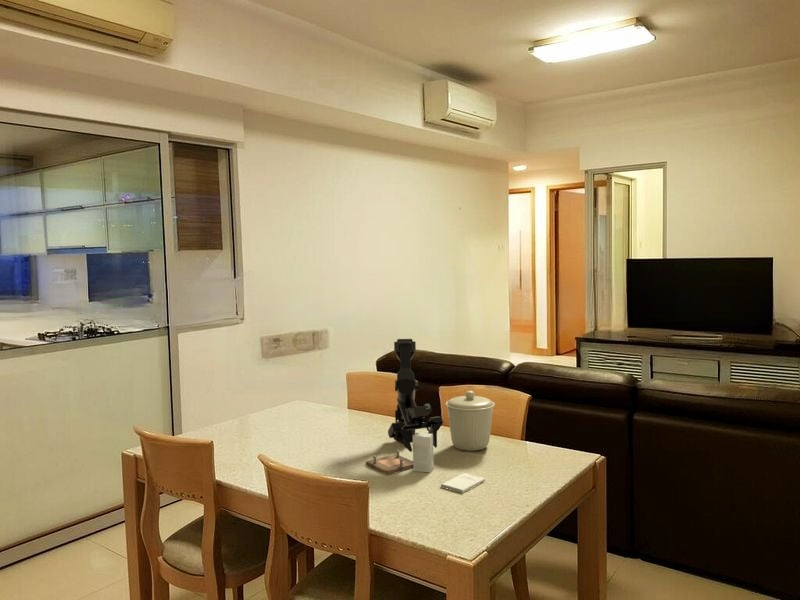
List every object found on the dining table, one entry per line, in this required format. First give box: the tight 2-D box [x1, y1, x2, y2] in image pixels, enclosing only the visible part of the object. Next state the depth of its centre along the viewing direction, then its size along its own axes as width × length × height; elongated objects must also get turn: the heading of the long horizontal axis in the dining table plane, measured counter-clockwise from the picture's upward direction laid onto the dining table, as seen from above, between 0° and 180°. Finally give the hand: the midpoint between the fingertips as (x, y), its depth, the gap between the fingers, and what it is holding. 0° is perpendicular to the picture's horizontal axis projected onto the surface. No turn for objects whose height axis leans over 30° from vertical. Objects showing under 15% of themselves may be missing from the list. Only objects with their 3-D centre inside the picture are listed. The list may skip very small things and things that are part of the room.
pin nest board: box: [365, 449, 413, 476], centre depth 207 cm, size 13×13×4 cm
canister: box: [445, 390, 496, 452], centre depth 225 cm, size 18×18×21 cm
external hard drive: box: [440, 472, 486, 494], centre depth 190 cm, size 2×8×12 cm
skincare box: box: [412, 432, 434, 474], centre depth 202 cm, size 6×4×12 cm
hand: (423, 449), depth 202 cm, fingers open, 9 cm apart
